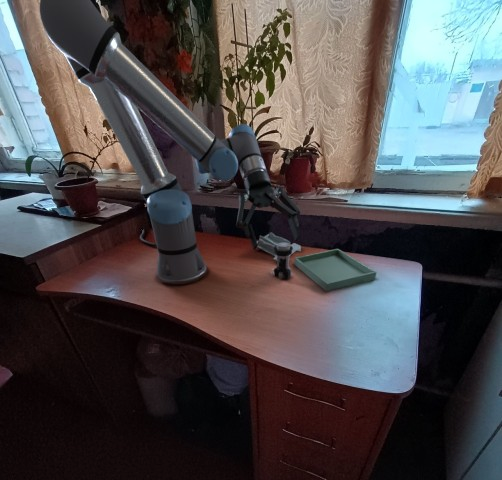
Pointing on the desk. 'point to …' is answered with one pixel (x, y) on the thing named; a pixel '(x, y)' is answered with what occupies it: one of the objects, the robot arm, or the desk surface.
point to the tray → (334, 269)
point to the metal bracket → (274, 244)
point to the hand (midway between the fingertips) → (277, 243)
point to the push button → (282, 260)
